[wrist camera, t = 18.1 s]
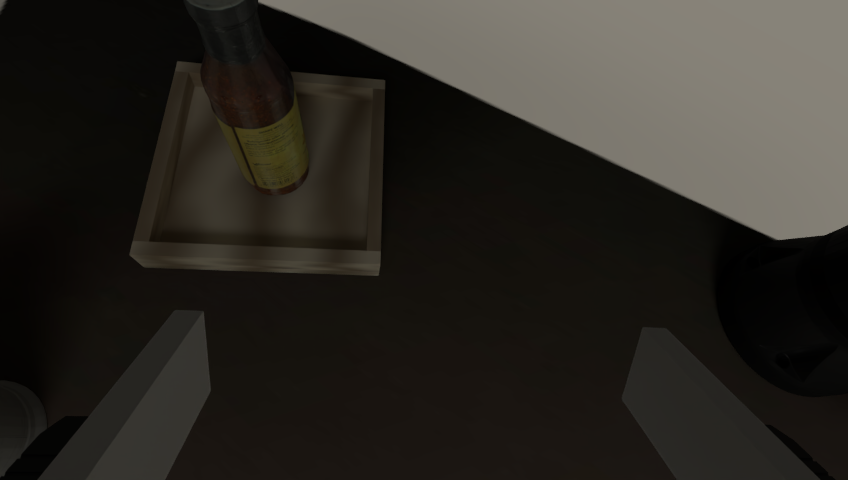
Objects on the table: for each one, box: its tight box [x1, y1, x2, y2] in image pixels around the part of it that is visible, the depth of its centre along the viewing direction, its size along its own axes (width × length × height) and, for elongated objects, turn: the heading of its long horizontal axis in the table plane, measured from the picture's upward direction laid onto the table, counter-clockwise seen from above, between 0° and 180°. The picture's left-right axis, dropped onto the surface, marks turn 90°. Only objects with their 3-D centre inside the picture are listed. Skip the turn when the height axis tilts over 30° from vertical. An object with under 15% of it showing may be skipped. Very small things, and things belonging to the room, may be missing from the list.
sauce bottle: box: [183, 0, 309, 196], centre depth 36 cm, size 6×6×20 cm
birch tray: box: [130, 62, 385, 276], centre depth 45 cm, size 20×20×3 cm
